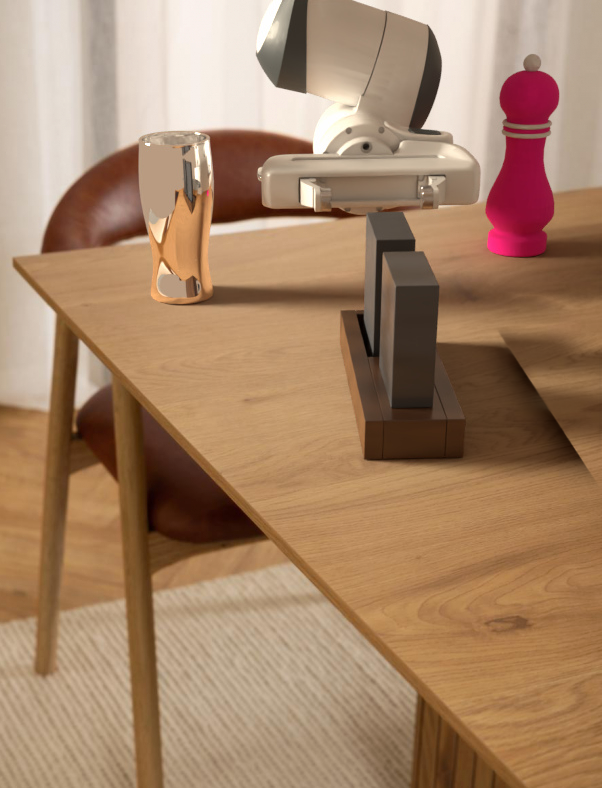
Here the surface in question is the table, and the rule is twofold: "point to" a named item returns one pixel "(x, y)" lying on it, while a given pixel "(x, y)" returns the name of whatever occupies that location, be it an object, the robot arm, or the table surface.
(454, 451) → the backrest rail
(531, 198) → the pepper mill
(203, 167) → the beer glass
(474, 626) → the table surface
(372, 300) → the back pad
